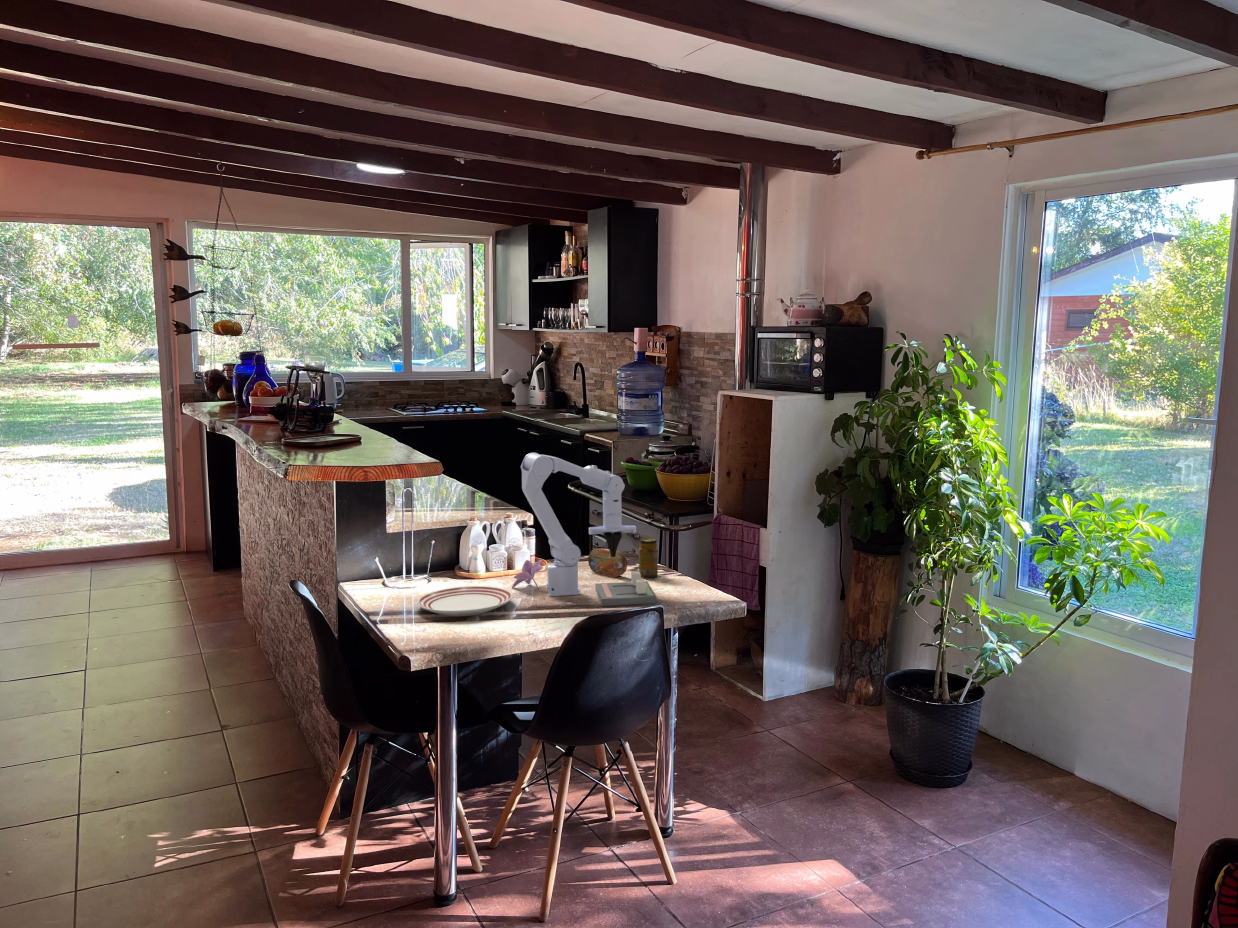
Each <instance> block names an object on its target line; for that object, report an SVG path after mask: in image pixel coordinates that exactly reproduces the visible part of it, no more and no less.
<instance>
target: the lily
mask: <svg viewBox="0 0 1238 928" xmlns="http://www.w3.org/2000/svg"><path fill="white" fill-rule="evenodd" d="M543 560H544V559H543V558H542V559H539V560H538V561H536V562H535V563H534V564H533V562H532V561H530V560H529V559H526V560H525V561H524V563H523V565H522V568H521V572H519V573H518V574H516V575H514V576H513V579H515V581H514V583H513V584H512V586H511V589H513V587H514V588H515V587H517V586H518V585H520V584H521V583H522V582H525V584H527V585H530V584H531V583H532V581H533V582H534V584H535V586H536V589H537V590H538V591H540V588H539V586H538V584H537V582H536V581H535V579H534V577H535V574H536V573H538V572H540V571H542V570H543V569H544V566H541V565H540V564H541V563H542V561H543Z"/></svg>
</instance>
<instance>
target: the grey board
mask: <svg viewBox="0 0 1238 928" xmlns="http://www.w3.org/2000/svg"><path fill="white" fill-rule="evenodd" d="M645 582H646V593H645V594H637V592H636V586H633V585H632V583H631V581H623V582H606V583H605V582H603V583H599V582H598V583H595V586H594V587H595V593H596V595H597V598H598V599H599V603H600V606H601V607H605V606H606V607H608V606H624V605H625V606H626V605H644V604H645V605H646V604H657V595H656V593H655V592H654V590H653V589H652V587H651V585H650V584H649V582H648V581H647V580H645Z"/></svg>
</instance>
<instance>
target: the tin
mask: <svg viewBox="0 0 1238 928" xmlns="http://www.w3.org/2000/svg"><path fill="white" fill-rule="evenodd" d="M587 562H588V566H589V568H590V570H591V571H592V573H594V574H596V575H600V576H601V575H602V576H607V577H611V578H612V577H613V578H617V577H621V576H622V575H624V574H625V573H626V572H627V569H628V560H627V557H626V555H625V554H624V553H623V552H621V551H620V550H616V557H611V556H610V550H609V548H603V547H601V548H593V549H592V550H590V553H588V557H587Z"/></svg>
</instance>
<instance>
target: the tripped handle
mask: <svg viewBox="0 0 1238 928" xmlns="http://www.w3.org/2000/svg"><path fill="white" fill-rule="evenodd" d="M645 581H646V579H644V578H641V579H638V580H636V592H637V594H645V593H646V582H645Z"/></svg>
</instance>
